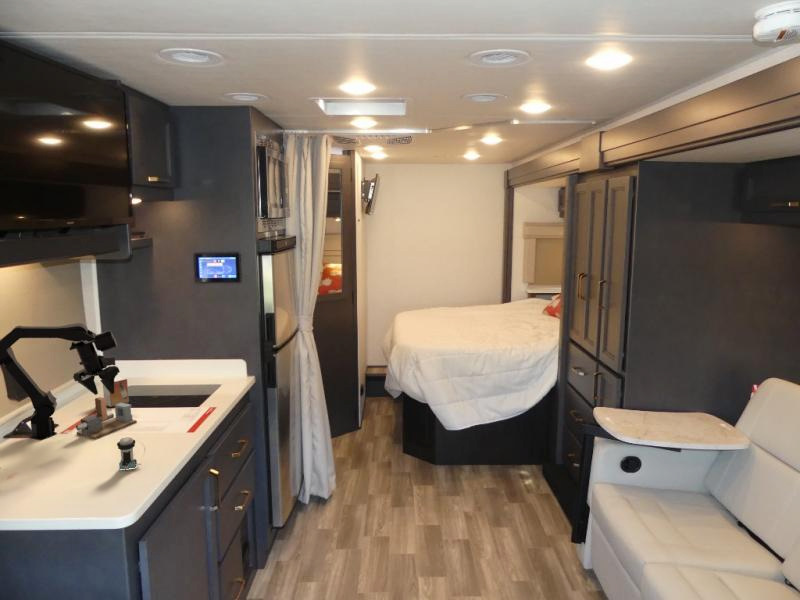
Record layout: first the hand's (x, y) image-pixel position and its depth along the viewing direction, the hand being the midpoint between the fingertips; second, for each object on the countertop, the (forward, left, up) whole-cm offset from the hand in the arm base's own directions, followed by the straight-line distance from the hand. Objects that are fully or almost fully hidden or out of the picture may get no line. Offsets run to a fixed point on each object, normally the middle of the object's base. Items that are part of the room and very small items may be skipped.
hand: (104, 393), depth 221 cm
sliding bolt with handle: (-6, -1, -10) cm, 11 cm away
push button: (-21, -37, -13) cm, 45 cm away
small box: (+20, +20, -13) cm, 31 cm away
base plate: (-1, -1, -13) cm, 13 cm away
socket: (+6, -1, -12) cm, 14 cm away
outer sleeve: (-7, -1, -12) cm, 14 cm away
